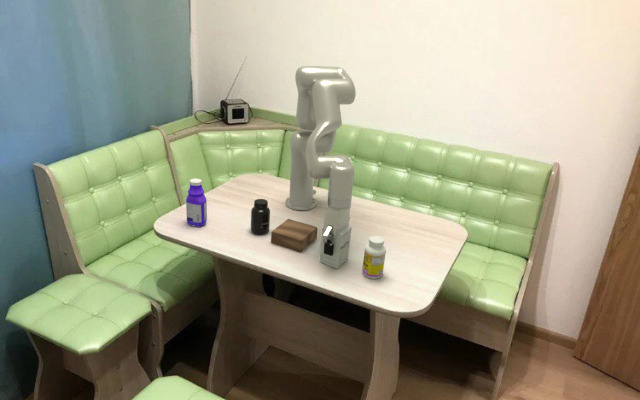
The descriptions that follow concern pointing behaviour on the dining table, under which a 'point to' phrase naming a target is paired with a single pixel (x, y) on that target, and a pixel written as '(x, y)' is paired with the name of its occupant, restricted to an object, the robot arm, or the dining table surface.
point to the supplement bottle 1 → (260, 217)
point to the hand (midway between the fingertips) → (335, 248)
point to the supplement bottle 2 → (374, 258)
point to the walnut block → (294, 235)
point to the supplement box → (337, 249)
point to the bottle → (196, 204)
